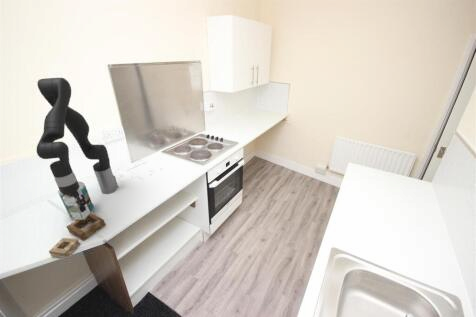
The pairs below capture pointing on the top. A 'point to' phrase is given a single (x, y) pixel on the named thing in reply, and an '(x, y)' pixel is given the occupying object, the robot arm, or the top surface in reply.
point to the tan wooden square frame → (59, 247)
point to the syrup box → (75, 207)
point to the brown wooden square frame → (90, 230)
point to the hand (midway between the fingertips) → (78, 208)
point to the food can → (85, 195)
